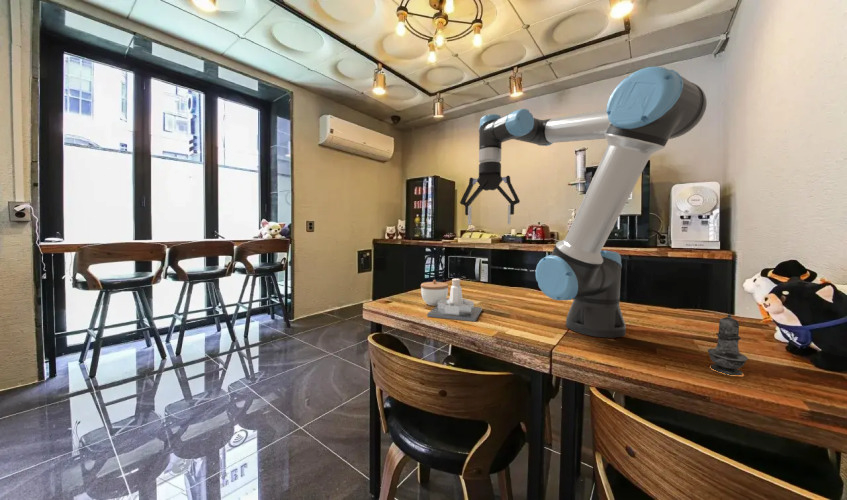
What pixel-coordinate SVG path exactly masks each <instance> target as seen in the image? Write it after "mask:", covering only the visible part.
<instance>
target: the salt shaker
mask: <svg viewBox="0 0 847 500" xmlns="http://www.w3.org/2000/svg"><path fill="white" fill-rule="evenodd" d="M451 281H452V282H451V284H452V285H451V286H450V293H449V298H450V299H449V298H448V299H449V304H450V303H454V304H455V305H460V304H463V300H462V299H463V292H462V291H463V290H462V286H461V278H452V279H451Z"/></svg>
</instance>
